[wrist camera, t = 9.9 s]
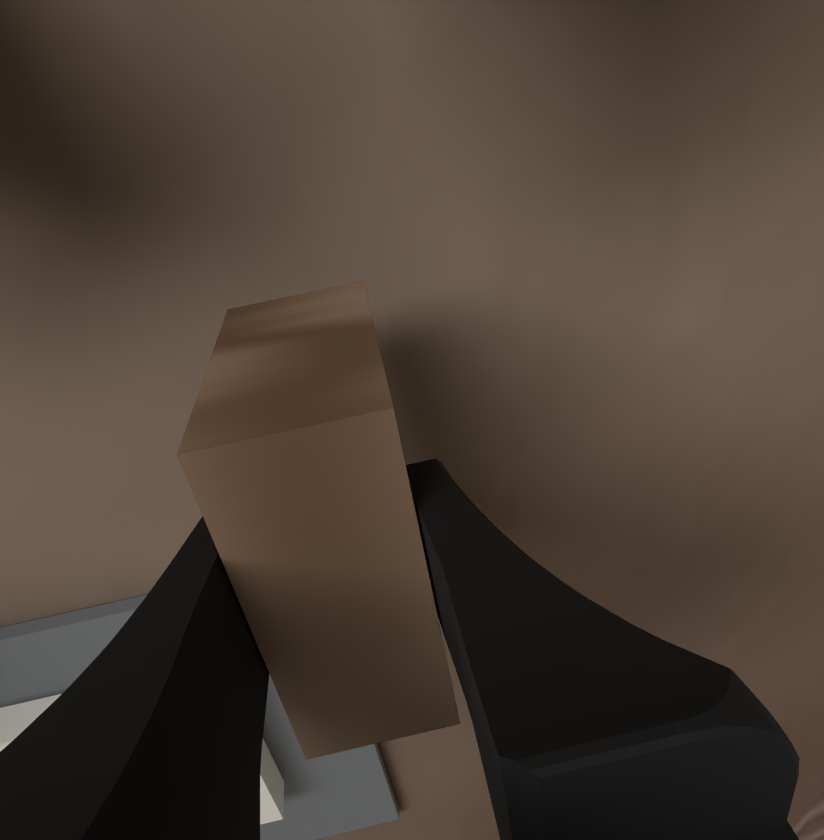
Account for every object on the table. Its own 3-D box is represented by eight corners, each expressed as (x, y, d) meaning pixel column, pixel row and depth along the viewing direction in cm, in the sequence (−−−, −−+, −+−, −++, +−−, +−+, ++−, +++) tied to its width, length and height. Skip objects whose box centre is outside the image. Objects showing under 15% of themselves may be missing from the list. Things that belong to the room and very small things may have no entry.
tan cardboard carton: (307, 552, 17) (305, 759, 12) (227, 309, 14) (177, 454, 9) (415, 527, 17) (459, 723, 12) (363, 281, 14) (393, 408, 9)
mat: (57, 888, 29) (53, 903, 29) (-160, 663, 21) (-172, 679, 21) (397, 806, 30) (399, 819, 30) (315, 556, 22) (315, 569, 21)
